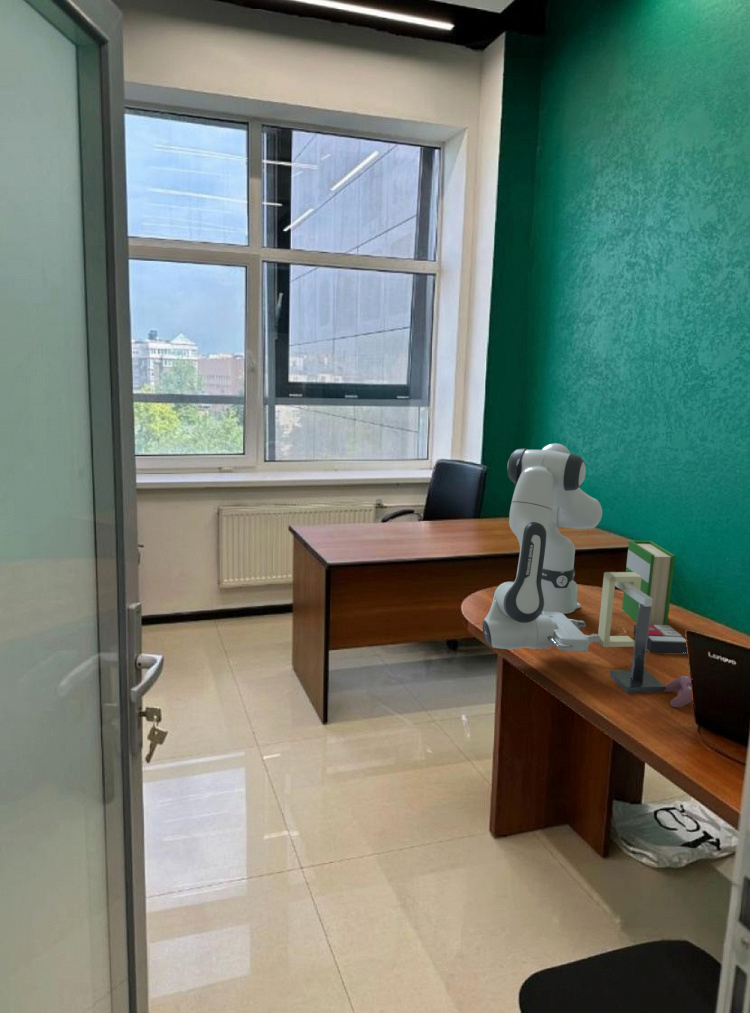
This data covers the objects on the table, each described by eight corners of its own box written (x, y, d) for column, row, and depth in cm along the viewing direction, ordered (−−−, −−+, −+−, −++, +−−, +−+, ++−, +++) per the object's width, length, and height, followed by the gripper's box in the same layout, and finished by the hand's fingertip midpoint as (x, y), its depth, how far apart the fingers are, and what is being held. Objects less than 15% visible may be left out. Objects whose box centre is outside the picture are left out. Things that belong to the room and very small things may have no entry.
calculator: (670, 623, 214) (690, 640, 199) (668, 637, 215) (689, 655, 200) (633, 622, 214) (651, 639, 199) (632, 636, 215) (650, 653, 200)
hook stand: (585, 650, 200) (592, 572, 195) (618, 650, 201) (626, 571, 196) (626, 693, 175) (636, 603, 170) (664, 692, 176) (675, 603, 171)
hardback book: (666, 629, 218) (675, 555, 213) (643, 629, 218) (651, 555, 213) (643, 609, 236) (651, 540, 231) (621, 609, 235) (629, 540, 230)
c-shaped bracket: (597, 641, 194) (604, 572, 190) (627, 640, 195) (634, 572, 191) (603, 647, 190) (610, 576, 186) (634, 646, 191) (641, 576, 187)
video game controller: (686, 716, 167) (703, 693, 165) (668, 705, 168) (686, 683, 166) (678, 697, 177) (694, 676, 175) (662, 687, 177) (678, 666, 175)
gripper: (557, 635, 179) (608, 634, 181) (531, 607, 199) (578, 607, 201) (555, 658, 181) (606, 657, 182) (529, 628, 200) (576, 627, 202)
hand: (591, 630), depth 191 cm, fingers open, 8 cm apart
